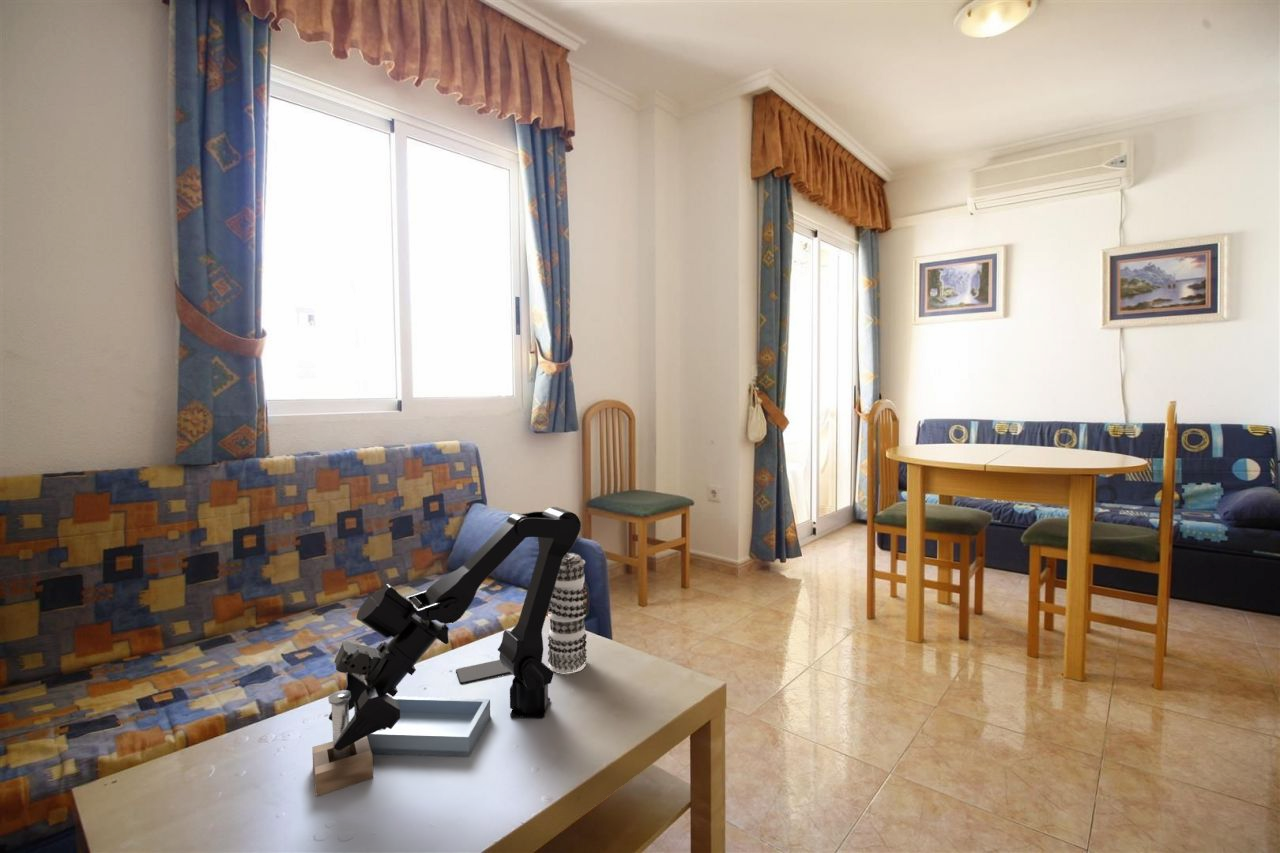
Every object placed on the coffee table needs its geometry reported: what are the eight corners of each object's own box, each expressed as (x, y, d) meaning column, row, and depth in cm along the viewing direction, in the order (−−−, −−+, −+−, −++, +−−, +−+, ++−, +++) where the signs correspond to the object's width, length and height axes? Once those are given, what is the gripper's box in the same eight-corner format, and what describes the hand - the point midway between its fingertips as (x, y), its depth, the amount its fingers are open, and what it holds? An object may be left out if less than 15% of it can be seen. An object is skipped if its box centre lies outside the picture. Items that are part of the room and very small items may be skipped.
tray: (490, 716, 111) (490, 698, 111) (468, 756, 99) (468, 736, 99) (387, 713, 112) (386, 696, 112) (353, 753, 100) (352, 733, 100)
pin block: (366, 751, 101) (365, 731, 100) (373, 777, 94) (372, 756, 94) (313, 767, 96) (312, 747, 96) (316, 796, 90) (315, 774, 89)
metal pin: (357, 766, 97) (354, 690, 96) (347, 779, 93) (343, 700, 92) (338, 765, 97) (335, 689, 96) (327, 778, 94) (324, 700, 93)
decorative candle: (544, 658, 135) (543, 551, 133) (584, 653, 137) (584, 548, 135) (548, 677, 126) (547, 563, 124) (591, 672, 128) (590, 560, 126)
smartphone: (455, 668, 129) (522, 654, 136) (455, 672, 129) (522, 658, 136) (460, 683, 123) (530, 667, 129) (460, 687, 123) (530, 671, 129)
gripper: (359, 606, 104) (288, 683, 98) (375, 646, 88) (292, 740, 83) (407, 639, 108) (342, 715, 103) (430, 683, 92) (355, 774, 87)
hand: (333, 733), depth 94 cm, fingers open, 9 cm apart
